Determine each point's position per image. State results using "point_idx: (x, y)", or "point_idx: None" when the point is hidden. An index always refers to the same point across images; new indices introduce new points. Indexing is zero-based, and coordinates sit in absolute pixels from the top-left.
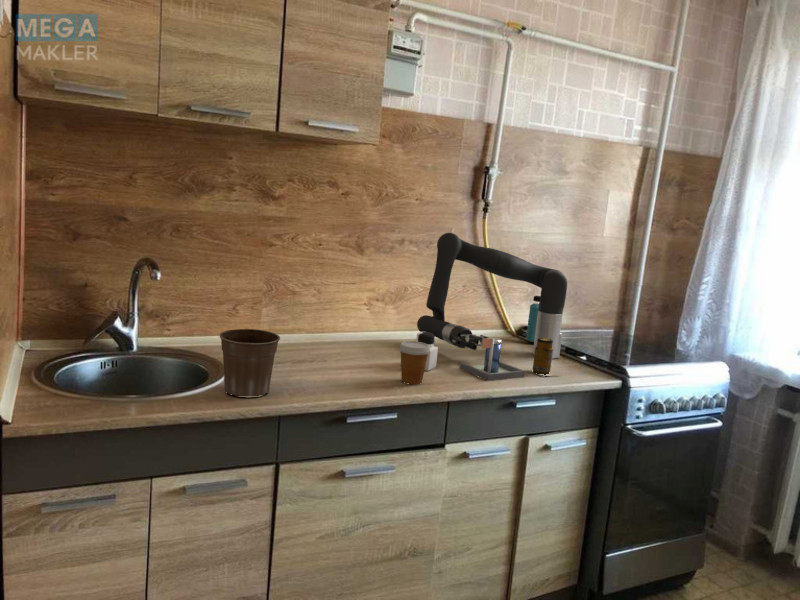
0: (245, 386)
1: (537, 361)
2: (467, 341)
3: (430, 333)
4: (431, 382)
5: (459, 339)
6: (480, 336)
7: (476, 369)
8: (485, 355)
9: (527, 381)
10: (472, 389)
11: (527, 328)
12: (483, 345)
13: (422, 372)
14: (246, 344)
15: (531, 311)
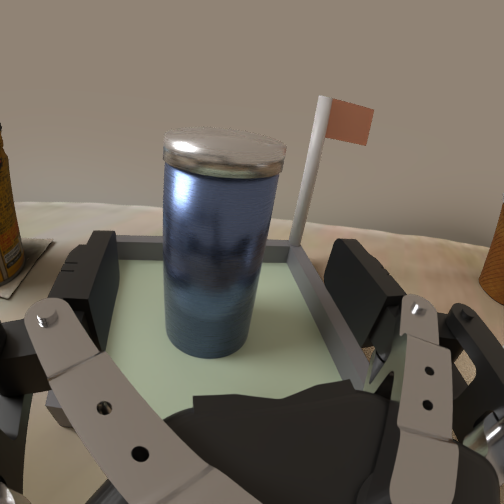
0: None
1: (14, 218)
2: (416, 298)
3: None
4: (461, 283)
5: (492, 348)
6: (91, 409)
7: (324, 287)
8: (261, 263)
9: (143, 231)
10: (365, 234)
11: None
12: (362, 133)
13: (489, 249)
14: None
15: None
